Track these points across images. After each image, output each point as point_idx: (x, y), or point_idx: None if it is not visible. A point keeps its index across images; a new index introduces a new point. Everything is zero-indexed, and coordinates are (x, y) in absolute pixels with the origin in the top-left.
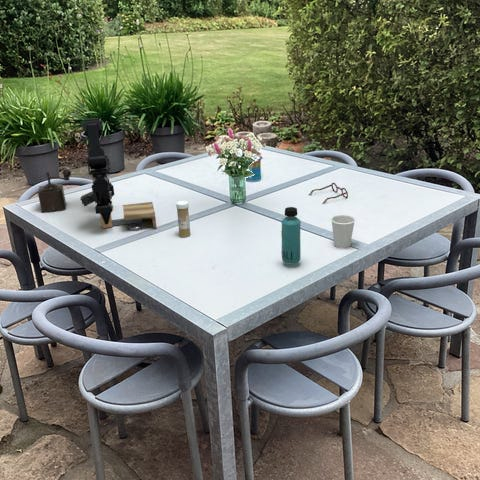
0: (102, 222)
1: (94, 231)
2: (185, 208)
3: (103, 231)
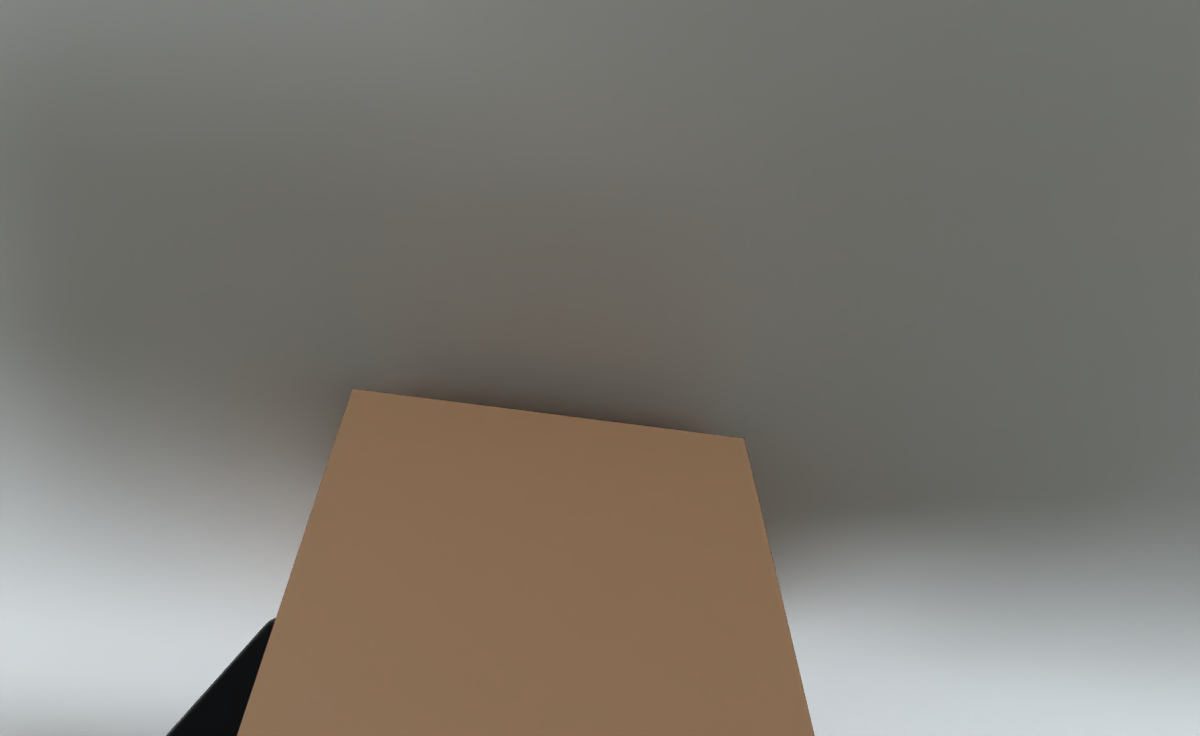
0: (290, 608)
1: (186, 38)
2: None
3: (93, 365)
